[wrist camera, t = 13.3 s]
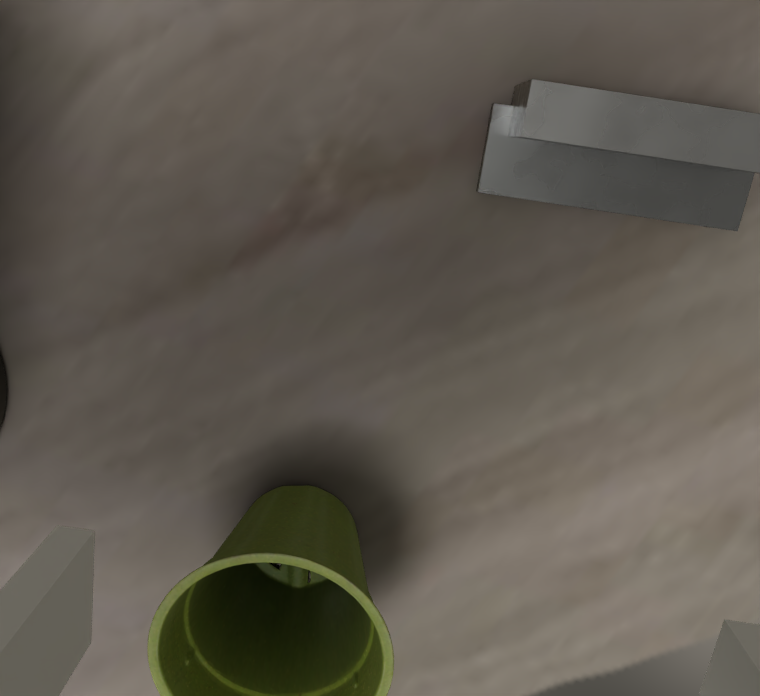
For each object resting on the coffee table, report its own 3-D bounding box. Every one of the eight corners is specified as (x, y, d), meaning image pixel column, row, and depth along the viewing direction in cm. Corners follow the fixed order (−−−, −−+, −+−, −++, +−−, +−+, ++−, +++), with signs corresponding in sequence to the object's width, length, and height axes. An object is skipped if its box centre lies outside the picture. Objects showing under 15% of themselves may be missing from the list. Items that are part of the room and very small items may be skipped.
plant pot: (187, 584, 46) (122, 721, 35) (236, 424, 43) (180, 521, 32) (361, 636, 47) (349, 787, 36) (421, 483, 43) (428, 598, 33)
